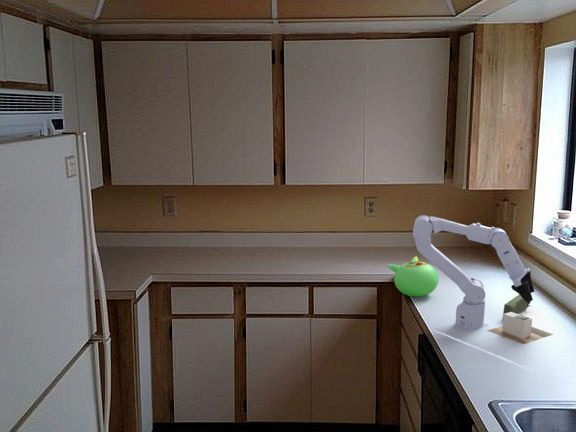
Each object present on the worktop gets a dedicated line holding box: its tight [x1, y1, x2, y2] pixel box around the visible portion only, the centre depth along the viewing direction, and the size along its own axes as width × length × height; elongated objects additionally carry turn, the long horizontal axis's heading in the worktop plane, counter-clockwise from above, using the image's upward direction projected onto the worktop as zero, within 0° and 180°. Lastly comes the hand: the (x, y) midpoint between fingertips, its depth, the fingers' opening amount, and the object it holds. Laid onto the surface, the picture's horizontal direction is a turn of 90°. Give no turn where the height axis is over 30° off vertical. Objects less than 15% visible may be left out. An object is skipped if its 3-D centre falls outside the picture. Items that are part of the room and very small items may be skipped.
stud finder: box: [502, 312, 533, 338], centre depth 199 cm, size 4×8×6 cm, turn 34°
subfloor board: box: [486, 325, 554, 345], centre depth 201 cm, size 16×14×1 cm
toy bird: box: [386, 255, 439, 298], centre depth 240 cm, size 18×17×15 cm
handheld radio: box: [502, 294, 532, 318], centre depth 221 cm, size 7×3×25 cm
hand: (530, 296), depth 202 cm, fingers open, 7 cm apart
